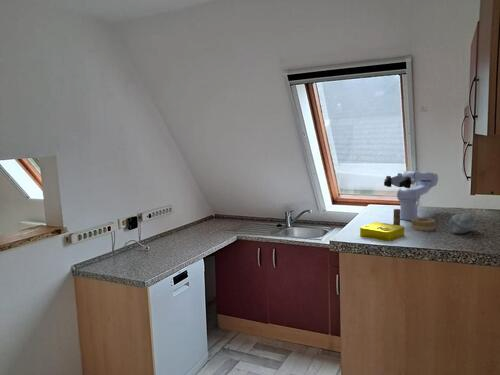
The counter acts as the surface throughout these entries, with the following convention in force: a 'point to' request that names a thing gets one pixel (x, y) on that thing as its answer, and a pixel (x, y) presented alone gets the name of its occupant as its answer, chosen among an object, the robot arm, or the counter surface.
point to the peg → (396, 217)
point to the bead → (423, 224)
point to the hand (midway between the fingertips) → (392, 184)
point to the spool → (461, 223)
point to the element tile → (382, 231)
